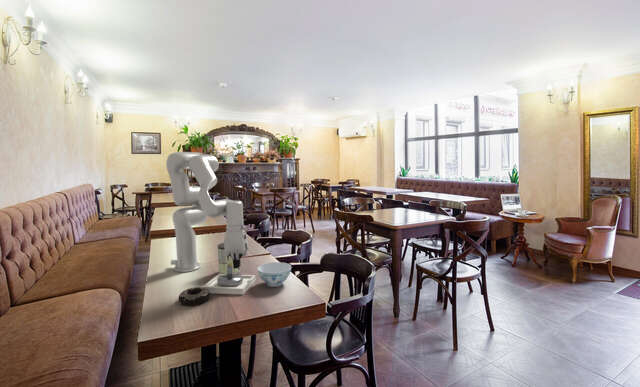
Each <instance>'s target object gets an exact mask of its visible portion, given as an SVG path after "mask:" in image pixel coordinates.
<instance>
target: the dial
mask: <svg viewBox="0 0 640 387" xmlns="http://www.w3.org/2000/svg"><path fill="white" fill-rule="evenodd" d="M242 275H243V274H240V273H237V274H233V263H230V264H229V267H227V274H226V275H223V276H220V277H218V278H217V285H218V286H220V287H234V286H238V285H240V284H242V282H243V276H242Z"/></svg>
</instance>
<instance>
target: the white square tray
mask: <svg viewBox="0 0 640 387" xmlns="http://www.w3.org/2000/svg"><path fill="white" fill-rule="evenodd" d="M223 275H226V274H219V273H218V274H217V275H215V276H214V277H213V278H212V279H210V280H209V281H208V282H207V283H206V284H204V285H203V286H202V288H206V289H207V290H208V291H209V293H210V294H221V295H222V294H224V295H245V293H247V291H248V290H249V289H250V288H251V286H252V285H253V284H254V283H255V282H256V280H257V279H256V277H257V276H256V275H254V274H241V275H242V276H243V282H242V284H240V285H238V286H234V287H220V286H218V285H217V278H218V277H220V276H223Z"/></svg>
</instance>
